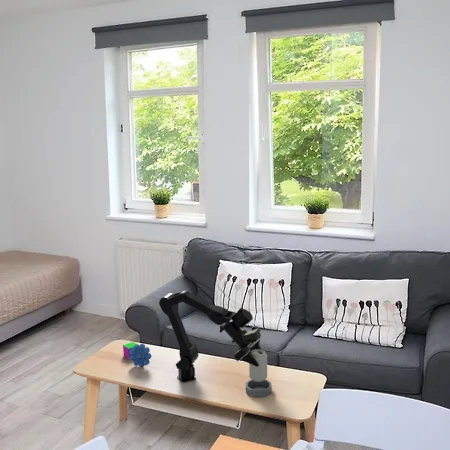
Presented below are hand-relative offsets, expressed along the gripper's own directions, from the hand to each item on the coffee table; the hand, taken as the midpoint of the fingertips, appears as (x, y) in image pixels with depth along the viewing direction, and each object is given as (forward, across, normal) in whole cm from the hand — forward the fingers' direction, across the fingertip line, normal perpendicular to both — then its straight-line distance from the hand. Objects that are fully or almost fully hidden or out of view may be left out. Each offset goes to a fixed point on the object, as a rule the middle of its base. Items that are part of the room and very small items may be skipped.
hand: (261, 362), depth 236 cm
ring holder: (+9, 0, +10) cm, 13 cm away
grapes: (-32, +4, +52) cm, 62 cm away
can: (+5, 0, +6) cm, 8 cm away
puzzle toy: (-40, +12, +60) cm, 73 cm away
